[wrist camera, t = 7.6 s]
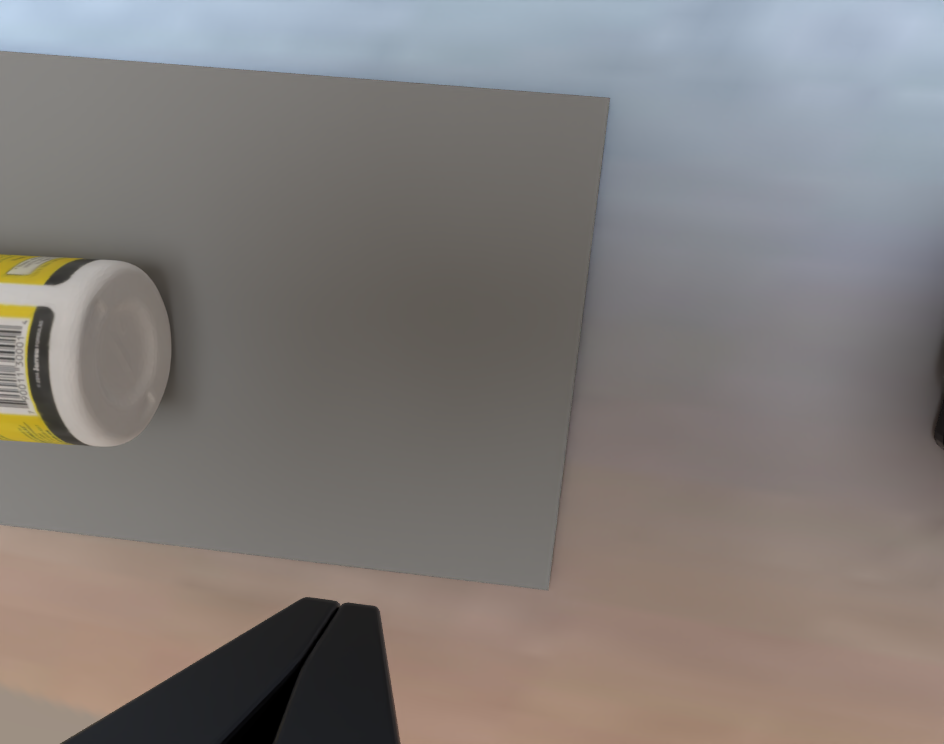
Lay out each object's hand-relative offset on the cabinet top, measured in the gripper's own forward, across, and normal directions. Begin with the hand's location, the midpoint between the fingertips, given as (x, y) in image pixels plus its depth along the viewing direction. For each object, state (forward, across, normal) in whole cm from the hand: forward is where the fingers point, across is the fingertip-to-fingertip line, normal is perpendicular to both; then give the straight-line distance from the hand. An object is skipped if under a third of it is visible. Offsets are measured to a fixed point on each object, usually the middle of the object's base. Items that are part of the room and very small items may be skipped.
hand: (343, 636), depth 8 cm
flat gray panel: (+13, +7, 0) cm, 15 cm away
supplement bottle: (+10, +8, 0) cm, 13 cm away
